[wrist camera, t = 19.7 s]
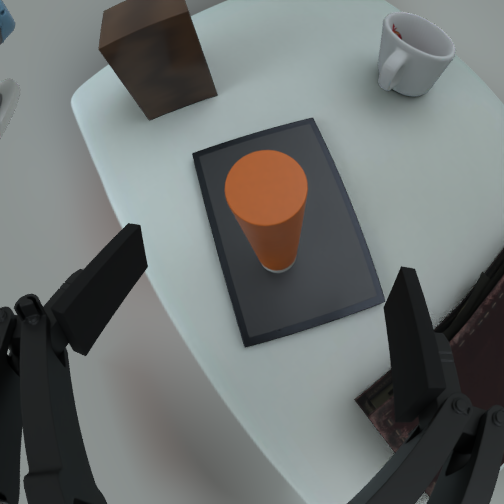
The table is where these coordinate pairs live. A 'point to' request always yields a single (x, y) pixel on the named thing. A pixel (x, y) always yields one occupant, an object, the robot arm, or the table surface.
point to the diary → (456, 358)
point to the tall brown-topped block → (156, 54)
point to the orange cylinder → (269, 205)
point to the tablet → (309, 248)
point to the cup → (412, 54)
